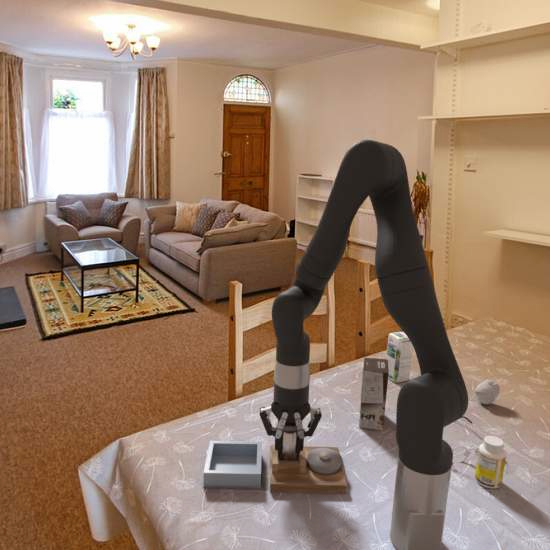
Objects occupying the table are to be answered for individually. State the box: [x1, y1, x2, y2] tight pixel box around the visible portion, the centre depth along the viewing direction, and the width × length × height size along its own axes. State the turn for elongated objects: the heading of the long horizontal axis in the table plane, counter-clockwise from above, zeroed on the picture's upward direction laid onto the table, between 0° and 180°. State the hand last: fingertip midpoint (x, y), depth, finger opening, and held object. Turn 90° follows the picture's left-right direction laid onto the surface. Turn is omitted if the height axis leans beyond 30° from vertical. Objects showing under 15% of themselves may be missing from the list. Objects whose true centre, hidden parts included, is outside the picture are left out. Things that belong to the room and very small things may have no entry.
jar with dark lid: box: [279, 421, 299, 461], centre depth 114 cm, size 5×5×10 cm
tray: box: [203, 440, 263, 490], centre depth 115 cm, size 12×12×4 cm
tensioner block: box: [269, 444, 348, 495], centre depth 115 cm, size 14×16×5 cm
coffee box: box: [358, 357, 389, 431], centre depth 136 cm, size 9×6×16 cm
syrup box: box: [385, 331, 414, 384], centre depth 162 cm, size 6×6×14 cm
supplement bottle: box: [474, 435, 507, 490], centre depth 113 cm, size 6×6×10 cm
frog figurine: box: [474, 378, 501, 405], centre depth 149 cm, size 6×7×7 cm
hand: (288, 450), depth 114 cm, fingers closed on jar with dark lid, 3 cm apart
